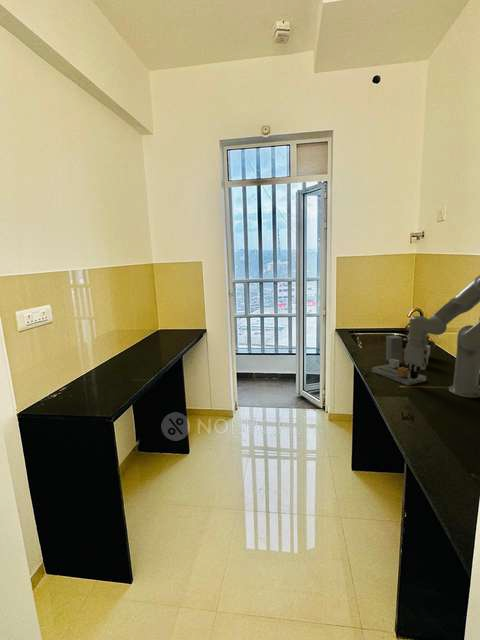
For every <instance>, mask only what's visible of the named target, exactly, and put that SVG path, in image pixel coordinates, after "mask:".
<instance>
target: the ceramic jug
mask: <svg viewBox="0 0 480 640" xmlns="http://www.w3.org/2000/svg"><path fill="white" fill-rule="evenodd" d="M408 338H409V333H407V338H402V341H404V342H405V341H406V342H408ZM426 342H428V344H429V343H430V344H432V345H431V347H430V355H431V354H432V352H433V351H434V349H435V347H436V343H435V341H434V340H431V339H430V335H429V334H427V335H426ZM405 349H406V347H405ZM405 349H402V352H403V353H404V354H405Z"/></svg>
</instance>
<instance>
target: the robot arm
mask: <svg viewBox="0 0 480 640" xmlns="http://www.w3.org/2000/svg"><path fill="white" fill-rule="evenodd" d="M479 303H480V274H479V275H478V276H477V277H475V278H474V279H473V280H472V281H471V282H469V283H468V284H467V285H466V286H465V287H464V288H463V289H461V291H460V292H458V293H457V294H456V295H455V296H454V297H453V298H451V299H450V300H449V301H448V302H446V303H445V304H444V305H443V306H441V307H440V308H439V309H438V310H437V311H436V312H435V313H433V315H431V316H430V317H429V318H427V317H425V316H419V315H415V316H411V317H410V320H409V328H408V334H409V338H408V337H407V339H408V341H407V343H406V346H405V348H406V349H405V353H404V354H403V355H404V356H403V360H404V364H405V365H406V366H407V367H408V369H409V371H410V378H412V379H416V378H417V377H418V374H419V371H421V370H423V371H424V370H426V369H427V368H426V367H427V366H428V364H429V358H428V348H427V346H426V345H429V343H428V342H426V335H428V334H431V335H442V334H444V333H445V332H446V331H447V328H448V327H447V325H448V324H449V323H451V322H452V321H453V320H454V319H456V318H457V317H458V316H460V315H462V314H464V313H468V312H469V311H471V310H472V309H474V307H476V306H477V305H478V304H479ZM456 339H457V340H456V343H457V345H456V357H455V363H454V374H453V383H452V385H450V386H449V387H448V391H449V392H450V393H452V394H454V395H456V396H460V397H463V398H472V399H473V398H475V399H476V398H479V397H480V384H479V381H480V317H479V321H478V322H477V323H476V324H474V325H472V324H471V325H470V324H469V325H464V326H463V327H461V328H460V330H459V331H458V334H457V337H456Z"/></svg>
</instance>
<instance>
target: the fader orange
mask: <svg viewBox="0 0 480 640" xmlns="http://www.w3.org/2000/svg"><path fill="white" fill-rule="evenodd" d="M408 371H410V369H409V367H408V368H407V367H406V366H405V367H404V366H402V367H400V368H398V372H397V375H398V376H400V377H406V376H408Z"/></svg>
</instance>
